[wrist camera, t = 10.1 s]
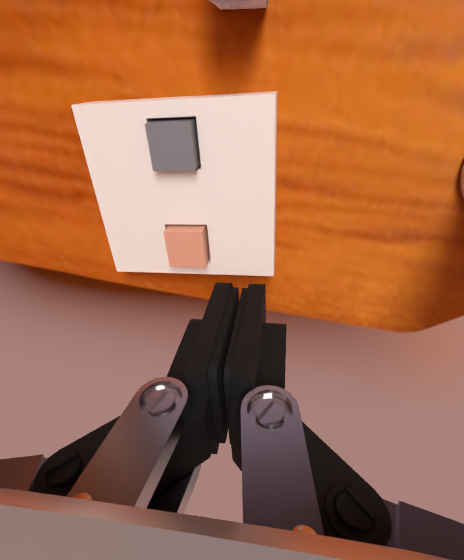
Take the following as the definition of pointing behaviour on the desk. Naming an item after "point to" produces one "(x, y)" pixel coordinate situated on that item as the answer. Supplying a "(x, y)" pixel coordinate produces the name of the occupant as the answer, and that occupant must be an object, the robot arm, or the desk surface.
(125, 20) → the desk surface
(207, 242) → the terracotta key
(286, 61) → the desk surface
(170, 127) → the grey key
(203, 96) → the key console
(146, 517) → the robot arm
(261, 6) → the medicine box
